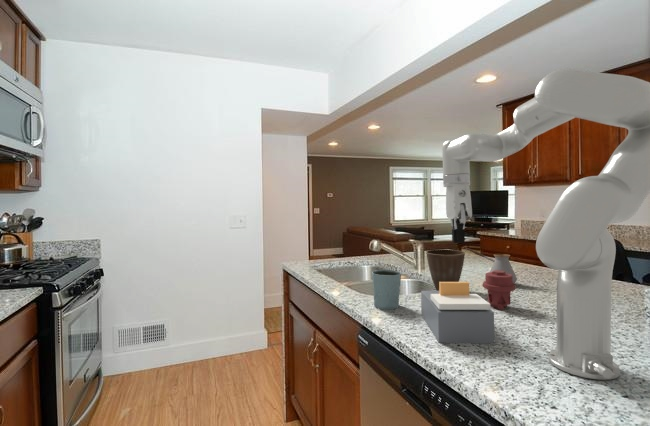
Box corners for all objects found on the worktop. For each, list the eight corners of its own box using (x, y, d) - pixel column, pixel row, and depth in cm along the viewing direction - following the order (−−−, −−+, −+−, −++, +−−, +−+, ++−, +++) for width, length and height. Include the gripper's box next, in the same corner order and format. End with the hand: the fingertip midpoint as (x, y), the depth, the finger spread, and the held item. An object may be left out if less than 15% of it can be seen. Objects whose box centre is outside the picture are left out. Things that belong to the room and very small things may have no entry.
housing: (494, 343, 89) (494, 312, 89) (438, 342, 90) (438, 312, 90) (465, 315, 111) (465, 290, 111) (421, 315, 112) (421, 290, 112)
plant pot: (461, 297, 131) (461, 255, 131) (422, 292, 139) (421, 253, 139) (468, 288, 144) (467, 250, 144) (431, 284, 152) (431, 248, 151)
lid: (490, 309, 90) (490, 290, 90) (439, 309, 91) (439, 290, 91) (476, 299, 100) (476, 281, 100) (430, 298, 101) (430, 281, 101)
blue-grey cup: (367, 303, 126) (367, 270, 125) (391, 300, 129) (391, 268, 129) (381, 311, 116) (381, 276, 116) (407, 308, 120) (406, 273, 119)
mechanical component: (510, 303, 123) (519, 312, 113) (479, 302, 125) (487, 310, 115) (509, 268, 122) (519, 274, 113) (479, 268, 124) (486, 274, 115)
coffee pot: (519, 283, 152) (519, 249, 151) (513, 288, 143) (513, 252, 142) (469, 277, 165) (469, 246, 165) (461, 282, 156) (460, 248, 156)
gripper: (478, 178, 96) (480, 244, 96) (461, 182, 111) (463, 240, 111) (451, 179, 97) (453, 245, 97) (437, 183, 112) (439, 240, 112)
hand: (458, 242), depth 104 cm, fingers closed
